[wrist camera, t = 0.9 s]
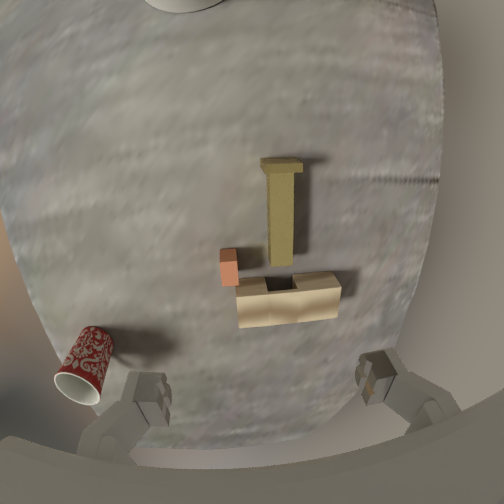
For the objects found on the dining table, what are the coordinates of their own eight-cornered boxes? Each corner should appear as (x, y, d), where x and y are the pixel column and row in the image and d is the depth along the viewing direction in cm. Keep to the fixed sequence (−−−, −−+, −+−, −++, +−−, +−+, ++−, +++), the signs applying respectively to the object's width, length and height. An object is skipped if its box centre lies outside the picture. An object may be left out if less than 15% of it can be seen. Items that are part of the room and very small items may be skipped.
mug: (72, 319, 49) (46, 368, 37) (113, 325, 50) (92, 378, 38) (86, 362, 54) (68, 410, 42) (124, 369, 55) (110, 419, 43)
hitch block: (235, 279, 47) (236, 297, 43) (331, 270, 48) (341, 287, 44) (237, 308, 50) (239, 328, 45) (328, 300, 51) (337, 317, 46)
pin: (260, 158, 39) (264, 164, 35) (294, 157, 39) (303, 163, 35) (262, 257, 46) (266, 272, 42) (293, 254, 46) (300, 270, 42)
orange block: (220, 249, 44) (219, 262, 41) (235, 248, 45) (237, 261, 41) (222, 272, 46) (222, 286, 43) (237, 271, 46) (238, 285, 43)
